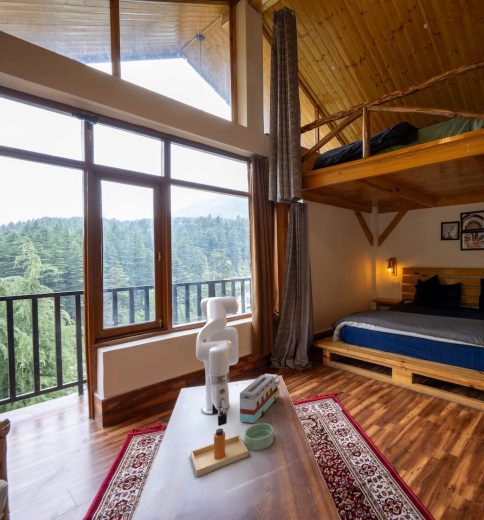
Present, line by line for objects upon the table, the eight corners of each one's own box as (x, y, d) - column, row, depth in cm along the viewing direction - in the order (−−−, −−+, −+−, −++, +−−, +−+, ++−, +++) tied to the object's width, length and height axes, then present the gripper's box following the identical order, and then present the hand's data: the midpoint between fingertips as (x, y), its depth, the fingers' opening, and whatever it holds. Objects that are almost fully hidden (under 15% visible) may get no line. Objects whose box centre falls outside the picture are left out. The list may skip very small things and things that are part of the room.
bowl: (241, 440, 132) (241, 429, 132) (267, 431, 139) (267, 420, 139) (250, 455, 122) (250, 443, 122) (277, 444, 129) (277, 433, 129)
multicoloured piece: (280, 396, 173) (280, 370, 173) (254, 425, 143) (254, 394, 143) (267, 395, 174) (267, 369, 174) (239, 423, 145) (239, 393, 145)
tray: (190, 457, 121) (190, 451, 121) (238, 440, 132) (238, 434, 132) (196, 477, 110) (196, 470, 110) (248, 456, 121) (248, 450, 121)
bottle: (213, 455, 121) (212, 429, 121) (223, 451, 124) (223, 425, 124) (215, 460, 118) (215, 434, 118) (226, 456, 120) (226, 430, 120)
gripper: (234, 383, 116) (234, 426, 116) (223, 368, 130) (223, 406, 130) (214, 388, 111) (214, 432, 112) (204, 372, 125) (205, 411, 126)
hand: (219, 418), depth 121 cm, fingers open, 9 cm apart
